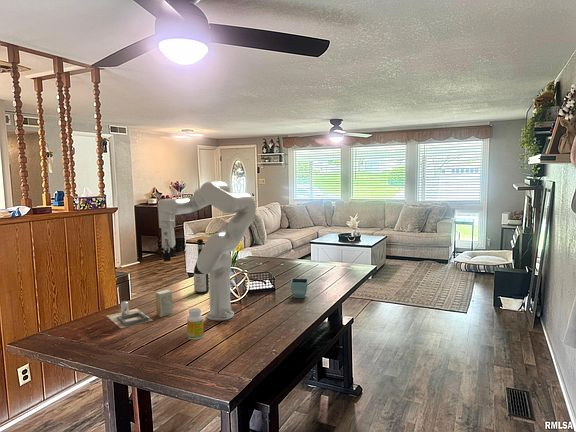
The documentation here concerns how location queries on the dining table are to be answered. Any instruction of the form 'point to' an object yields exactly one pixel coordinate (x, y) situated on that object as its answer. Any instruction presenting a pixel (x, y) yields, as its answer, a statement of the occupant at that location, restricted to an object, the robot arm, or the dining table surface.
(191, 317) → the supplement bottle
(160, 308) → the skincare box
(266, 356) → the dining table surface
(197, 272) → the wine bottle
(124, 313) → the steel pin
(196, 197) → the robot arm
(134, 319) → the board
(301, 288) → the flower pot
